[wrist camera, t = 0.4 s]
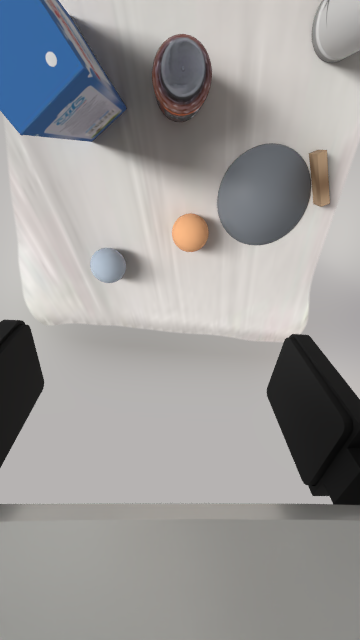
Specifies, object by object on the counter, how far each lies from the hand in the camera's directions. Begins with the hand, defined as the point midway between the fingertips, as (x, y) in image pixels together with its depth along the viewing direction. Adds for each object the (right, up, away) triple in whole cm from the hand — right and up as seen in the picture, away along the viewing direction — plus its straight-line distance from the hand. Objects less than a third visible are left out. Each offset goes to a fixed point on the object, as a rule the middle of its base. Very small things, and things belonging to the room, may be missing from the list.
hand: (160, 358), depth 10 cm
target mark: (+13, +20, +30) cm, 38 cm away
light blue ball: (-11, +10, +32) cm, 35 cm away
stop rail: (+21, +22, +28) cm, 42 cm away
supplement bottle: (+1, +30, +23) cm, 38 cm away
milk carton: (-11, +31, +22) cm, 39 cm away
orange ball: (+2, +15, +30) cm, 33 cm away
